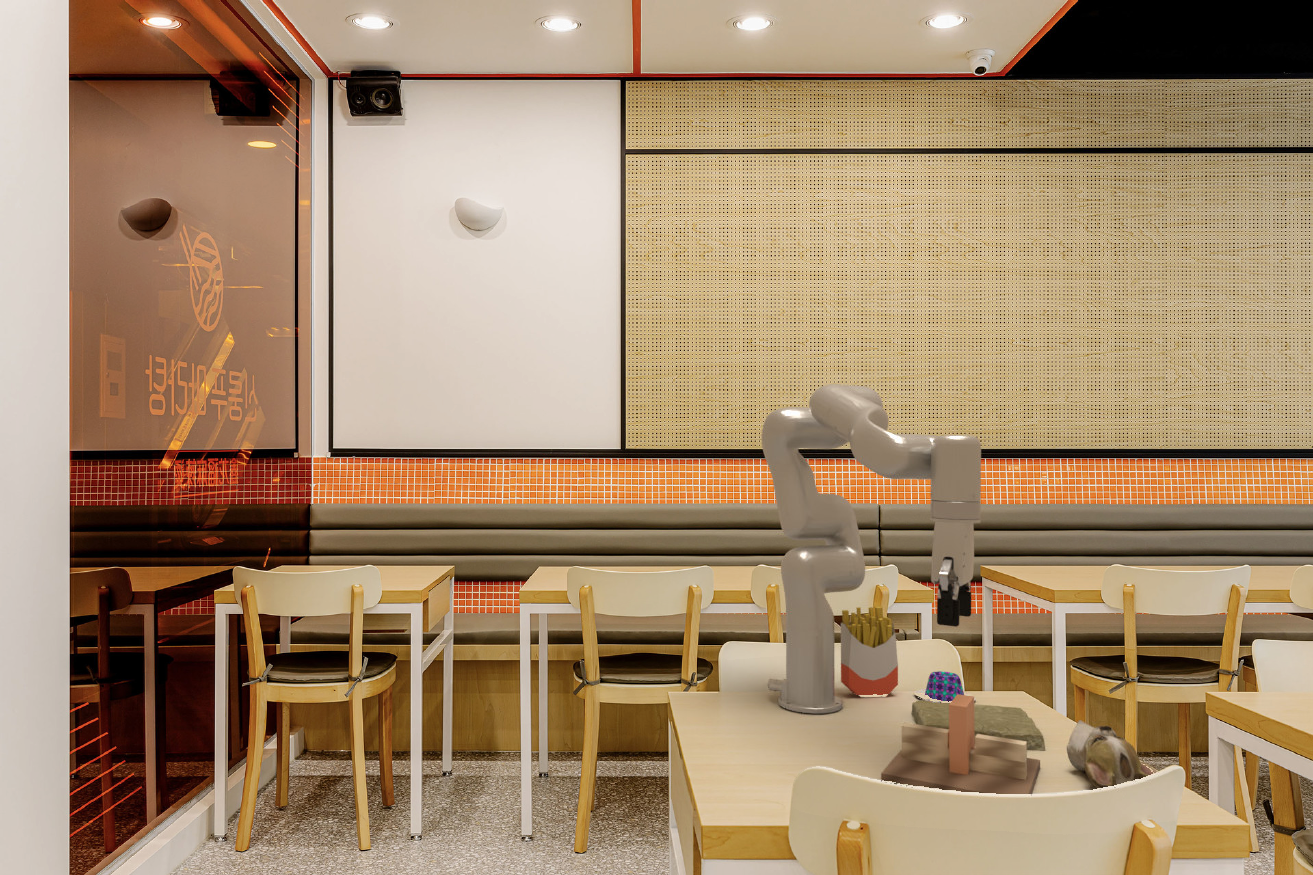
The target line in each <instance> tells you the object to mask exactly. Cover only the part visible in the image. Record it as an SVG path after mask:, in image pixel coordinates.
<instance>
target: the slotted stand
mask: <svg viewBox="0 0 1313 875" xmlns="http://www.w3.org/2000/svg"><path fill="white" fill-rule="evenodd" d="M1040 769H1041V760H1040V759H1036V758H1032V757H1031V758H1030V757H1028V750H1027V742H1026V741H1020V740H1014V739H1007V738H1001V737H994V736H988V735H981V734H977V735H976V736H975V750H972V749H971V751H970V752H969V772H968V774H967V775H965V774H959V773H954V772H950V762H949V729H943V728H936V727H930V726H923V725H917V724H916V723H909V722H904V723H902V725H901V749H900V751H899V752H898V753H897V754H896V755H895V756H894V758H893V759H892V760H891V761H890V763H888V765H887V766H886V767H885V768H884V769H883V770H882V771H881V773H880V780H881V779H882V780H884V781H892V782H896V783H900V784H908V785H913V786H924V787H929V788H939V789H942V790H956V791H961V792H979V793H996V794H1031V795H1033V791H1034V787H1035V785H1036V782H1037V779H1038V776H1039V772H1040Z"/></svg>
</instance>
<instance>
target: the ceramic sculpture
mask: <svg viewBox="0 0 1313 875" xmlns="http://www.w3.org/2000/svg"><path fill="white" fill-rule="evenodd" d="M1066 754H1067V757H1068V760H1069V762H1070V764H1071V766H1072V767H1074V768H1075V769H1076V770H1077V771H1080V772H1085V774H1086V777H1087V778H1088V780H1089V781H1090V783H1091V784H1092V785H1093V787H1095V788H1096V789H1098V788H1103V787H1108V786H1114V785H1117V784H1121V783H1124V782H1127V781H1133V780H1135V779H1141V778H1143V777H1146V776H1148V775H1151V774H1153V772H1154V773H1156V772H1158V770H1157V769H1155V768H1154V767H1152V766H1151V764H1149V762H1144V761H1141V760H1140V758H1139V755H1138V753H1137V751H1136V749H1135V747H1134V745H1132V744H1131V743H1130V742H1128V741H1127V740H1126V739H1125V738H1124V737H1123V738H1122V737H1120V736H1119V735H1117V733H1116V731H1114V730H1113V729H1112V727H1111V726H1108V725H1105V726H1102V725H1101V726H1096V727H1094V726H1091V725H1090V724H1088V723H1087V722H1084V721H1083V720H1081V719H1080V720H1078V721H1077V722H1076V725H1075V726H1074V728H1073V730H1072V733H1071V734H1070V737H1069V740H1068V744H1067V745H1066ZM1143 764H1145V765H1143ZM1146 766H1148V767H1149V768H1151V769H1152V770H1153V772H1151V770H1150V769H1149V768H1147V767H1146ZM1133 782H1134V781H1133Z"/></svg>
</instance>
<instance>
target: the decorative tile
mask: <svg viewBox="0 0 1313 875" xmlns="http://www.w3.org/2000/svg"><path fill="white" fill-rule="evenodd" d="M949 704H950V703H940V702H933V701H930V700H929V701H926V700H923V699H919V700H916V701H914V702H912V704H911V715H912V716H911V717H913V720H914V722H915V724H917V725H923V726H930V727H936V728H943V729H949ZM974 726H975V736H976V735H977V734H981V735H988V736H994V737H1001V738H1007V739H1014V740H1020V741H1026V742H1027V751H1038V752H1046V745H1045V738H1044V734H1043V733H1042V731H1041V730H1040V729H1039V728H1038V727H1037V726H1036V723H1035V722H1034V720H1033V718H1032V717H1029V716H1028V713H1027V712H1026V711H1024V709H1023V708H1021V707H1014V706H999V705H991V704H975V703H974Z"/></svg>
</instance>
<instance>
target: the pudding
mask: <svg viewBox="0 0 1313 875" xmlns="http://www.w3.org/2000/svg"><path fill="white" fill-rule="evenodd" d="M961 681H962V680H961V678H960V676H959V675H958V674H956V673H954V672H950V671H942V670H941V671H940V670H939V671H932V672H930V674H929V676H928V679H927V683H926V687H925V688H922V689H917V690H916V691H914V693H925V695H928V696H929V697H930V698H932V699H937V700H941V701H948V702H949V701H952V700H953V699H954V698H955V697H956V696H957V694H959V695H964V692H965V691H964V688H963V686H962V685H963V684H962V682H961ZM966 695H971V694H970V693H968V694H966ZM917 698H919V697H917ZM919 700H924V699H921V698H919ZM928 700H929V699H927V700H926V701H928ZM976 700H977V699H976V697H975V696H974V702H976Z"/></svg>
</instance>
